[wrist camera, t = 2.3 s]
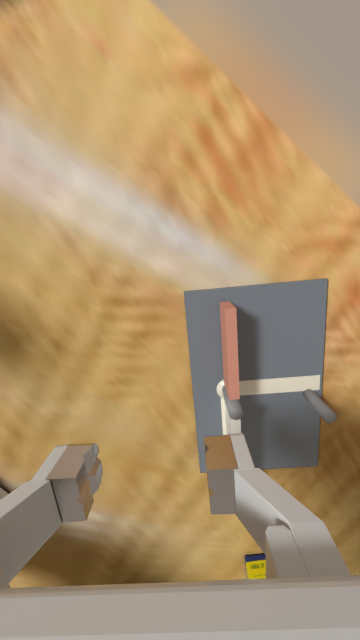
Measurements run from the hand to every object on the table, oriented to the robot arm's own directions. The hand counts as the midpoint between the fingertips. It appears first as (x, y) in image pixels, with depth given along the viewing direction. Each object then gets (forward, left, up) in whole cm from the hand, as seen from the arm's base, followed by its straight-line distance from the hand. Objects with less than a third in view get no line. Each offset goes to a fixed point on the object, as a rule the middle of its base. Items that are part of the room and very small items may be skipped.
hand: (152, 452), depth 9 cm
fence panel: (0, -6, -16) cm, 17 cm away
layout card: (-4, -11, -17) cm, 21 cm away
